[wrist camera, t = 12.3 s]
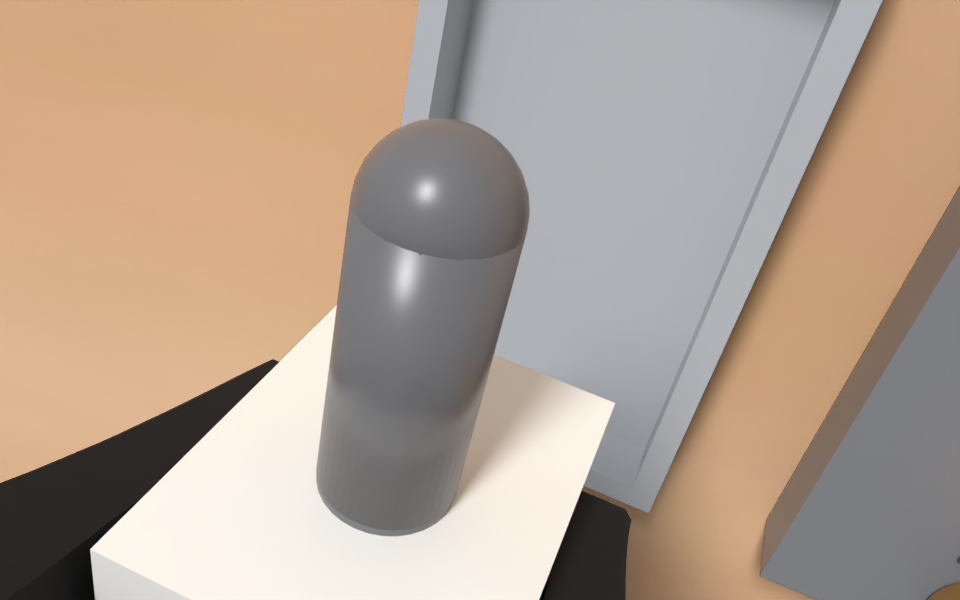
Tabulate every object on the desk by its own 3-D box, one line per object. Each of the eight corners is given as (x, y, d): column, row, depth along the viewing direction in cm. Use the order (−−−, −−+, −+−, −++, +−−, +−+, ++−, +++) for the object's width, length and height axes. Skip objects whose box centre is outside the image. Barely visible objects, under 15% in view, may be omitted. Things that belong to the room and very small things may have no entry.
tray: (662, 462, 22) (648, 513, 21) (393, 353, 24) (361, 392, 22) (915, -103, 15) (923, -89, 13) (489, -210, 16) (449, -210, 15)
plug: (570, 515, 13) (410, 927, 8) (366, 427, 14) (111, 761, 9) (747, 64, 9) (632, 365, 4) (444, -31, 10) (49, 137, 5)
